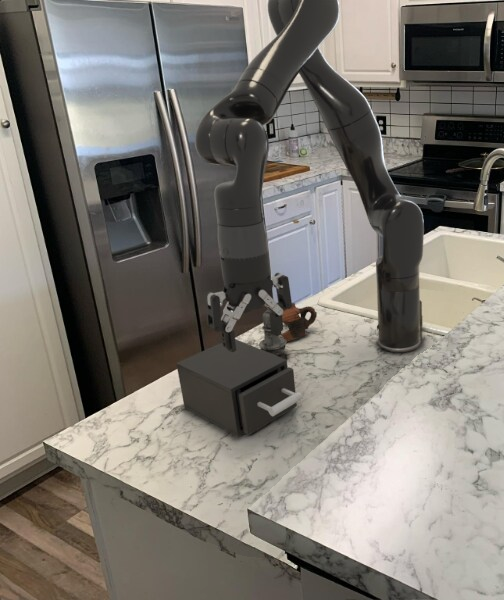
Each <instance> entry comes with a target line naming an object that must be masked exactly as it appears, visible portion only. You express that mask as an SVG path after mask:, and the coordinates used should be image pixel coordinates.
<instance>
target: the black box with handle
mask: <svg viewBox="0 0 504 600" xmlns="http://www.w3.org/2000/svg"><path fill="white" fill-rule="evenodd" d="M235 394H236V401H237V408H238V414H239V421H240V426H241V427H243V429H244V434H245V435H246V436H250V435H252V434H253V433H255V432H257V431H258V430H260V429H262V428H263V427H265V426H266V425H268V424H270V423H271V422H273V421H275V420H276V419H278V418H280V417H281V416H283V415H285V414H286V413H287V412H290V411H291V410H292V409H294V408H296V407H297V406H298V402H299V401H301V400H302V399H303V393H301V392H300V391H296V383H295V372H294V368H292V367H290V366H288V368H286V369H284V370H283V371H281V367H280V368H278V369H276V370H274V371H272V372H270V373H268V374H267V375H265V376H263V377H261V378H259V379H257V380H255V381H253V382H252V383H250V384H248V385H246V386H244V387H242V388H240V389H238V390H237V391H235Z"/></svg>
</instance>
